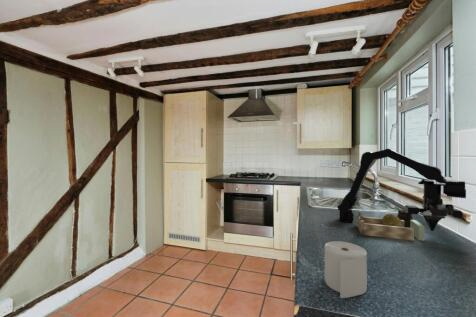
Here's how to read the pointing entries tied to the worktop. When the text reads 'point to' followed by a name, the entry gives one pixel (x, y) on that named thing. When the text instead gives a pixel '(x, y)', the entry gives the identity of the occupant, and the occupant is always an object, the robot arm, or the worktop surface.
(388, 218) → the potato
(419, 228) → the pale green block
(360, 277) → the toilet tissue
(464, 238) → the worktop surface
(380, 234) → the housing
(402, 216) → the mate gourd
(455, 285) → the worktop surface
